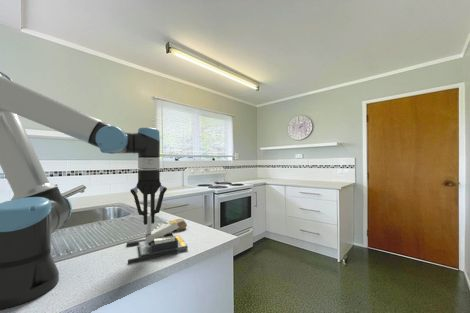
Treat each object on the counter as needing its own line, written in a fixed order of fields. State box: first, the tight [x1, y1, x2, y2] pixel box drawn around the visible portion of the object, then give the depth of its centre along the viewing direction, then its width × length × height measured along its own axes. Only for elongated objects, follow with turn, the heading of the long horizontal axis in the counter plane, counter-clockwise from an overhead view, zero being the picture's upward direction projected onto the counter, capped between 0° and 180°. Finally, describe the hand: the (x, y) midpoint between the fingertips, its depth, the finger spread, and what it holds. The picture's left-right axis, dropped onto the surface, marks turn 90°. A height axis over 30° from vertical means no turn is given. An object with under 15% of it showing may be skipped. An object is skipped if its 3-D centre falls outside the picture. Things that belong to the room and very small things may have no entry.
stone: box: [168, 218, 188, 232], centre depth 106 cm, size 8×10×4 cm
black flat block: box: [137, 231, 189, 257], centre depth 82 cm, size 16×13×5 cm
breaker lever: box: [144, 219, 179, 243], centre depth 82 cm, size 12×3×3 cm, turn 118°
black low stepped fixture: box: [126, 238, 178, 265], centre depth 82 cm, size 18×18×1 cm
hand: (148, 232), depth 80 cm, fingers closed
